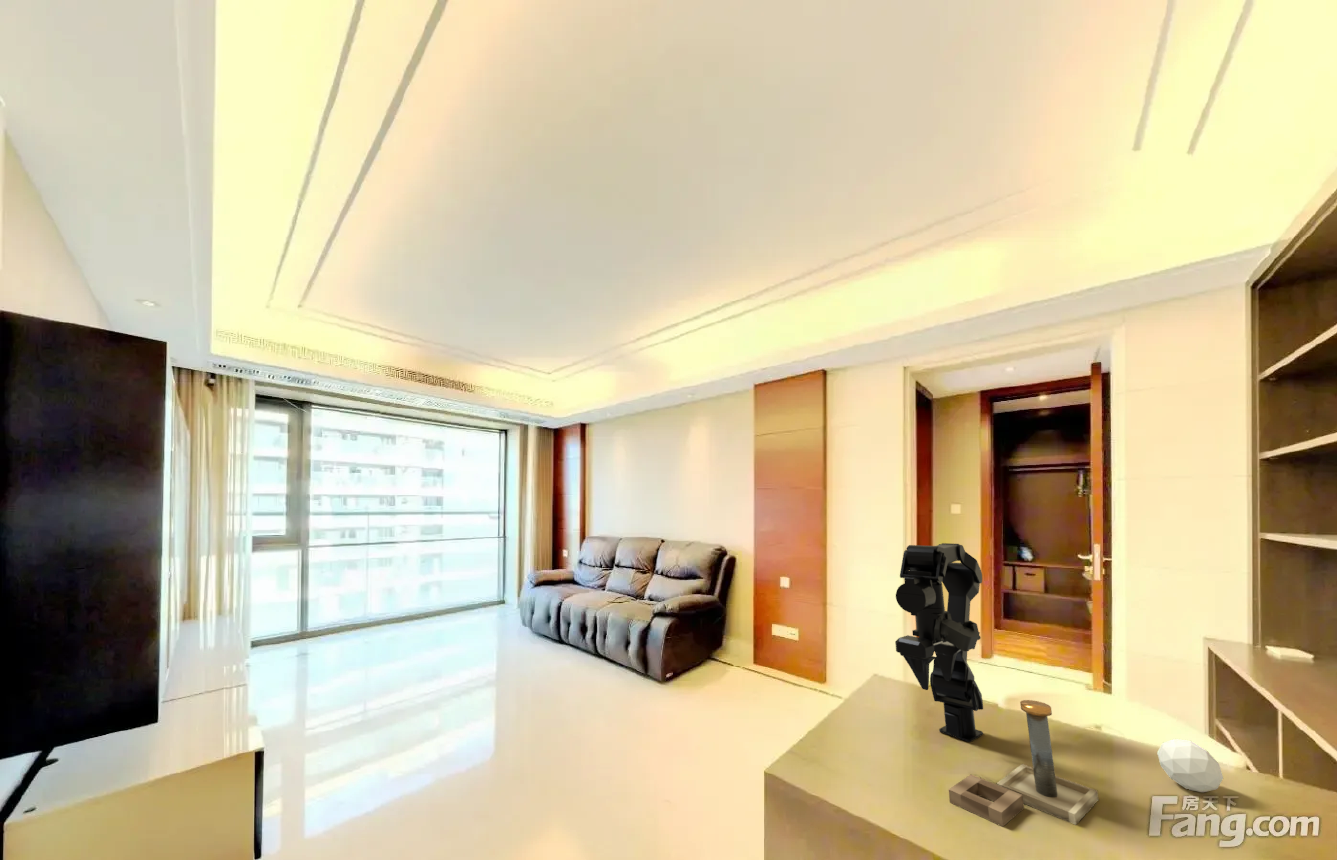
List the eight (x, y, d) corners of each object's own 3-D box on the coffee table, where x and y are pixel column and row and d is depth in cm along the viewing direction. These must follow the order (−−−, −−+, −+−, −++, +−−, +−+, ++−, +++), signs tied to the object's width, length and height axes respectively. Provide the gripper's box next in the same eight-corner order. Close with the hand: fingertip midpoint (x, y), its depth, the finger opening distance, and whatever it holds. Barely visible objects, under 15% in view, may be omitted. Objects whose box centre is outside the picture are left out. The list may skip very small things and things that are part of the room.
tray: (1023, 772, 92) (1022, 763, 92) (1098, 800, 83) (1097, 790, 83) (997, 792, 85) (996, 783, 86) (1076, 825, 76) (1074, 814, 77)
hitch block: (972, 786, 87) (970, 774, 88) (1023, 808, 81) (1022, 795, 81) (949, 802, 83) (948, 789, 83) (1003, 826, 76) (1001, 812, 77)
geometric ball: (1181, 798, 87) (1156, 747, 93) (1241, 798, 82) (1212, 743, 88) (1164, 787, 85) (1140, 734, 90) (1226, 785, 80) (1197, 730, 85)
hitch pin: (1029, 783, 87) (1018, 698, 89) (1060, 789, 85) (1048, 702, 87) (1032, 795, 83) (1021, 707, 86) (1065, 802, 81) (1053, 711, 83)
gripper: (946, 618, 92) (955, 707, 89) (990, 606, 103) (999, 686, 100) (890, 609, 101) (897, 690, 98) (936, 599, 112) (943, 672, 109)
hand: (936, 684), depth 101 cm, fingers open, 9 cm apart
